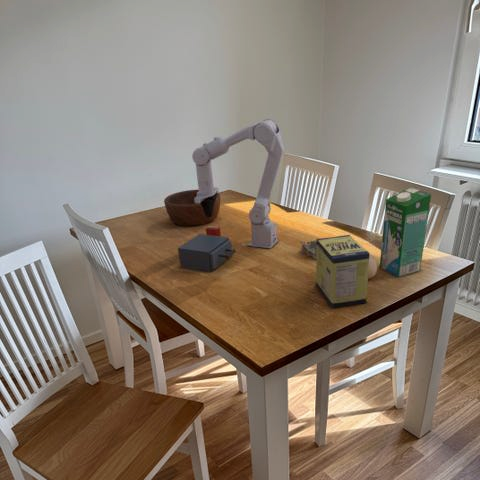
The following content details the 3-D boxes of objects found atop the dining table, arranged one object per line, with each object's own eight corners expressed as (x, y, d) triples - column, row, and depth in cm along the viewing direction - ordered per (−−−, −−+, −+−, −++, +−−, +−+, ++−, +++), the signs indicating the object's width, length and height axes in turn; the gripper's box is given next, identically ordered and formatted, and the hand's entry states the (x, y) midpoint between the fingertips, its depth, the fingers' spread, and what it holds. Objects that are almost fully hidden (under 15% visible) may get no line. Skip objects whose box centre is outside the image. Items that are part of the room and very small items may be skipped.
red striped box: (221, 244, 178) (219, 226, 174) (217, 247, 176) (215, 228, 172) (211, 243, 180) (209, 225, 176) (207, 246, 178) (205, 227, 174)
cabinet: (230, 256, 167) (228, 237, 164) (210, 272, 157) (208, 252, 153) (201, 252, 173) (199, 233, 169) (180, 267, 162) (177, 247, 158)
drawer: (241, 256, 164) (240, 241, 161) (223, 271, 155) (222, 255, 152) (205, 251, 171) (203, 237, 168) (186, 265, 161) (184, 250, 158)
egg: (369, 273, 147) (371, 250, 143) (379, 279, 143) (382, 256, 138) (355, 276, 146) (356, 253, 142) (364, 283, 141) (366, 260, 137)
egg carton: (298, 251, 167) (298, 241, 165) (315, 246, 169) (315, 236, 167) (315, 260, 158) (315, 249, 156) (332, 255, 161) (333, 244, 159)
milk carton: (379, 267, 150) (386, 191, 137) (401, 261, 153) (410, 186, 140) (397, 277, 143) (407, 198, 130) (420, 270, 146) (431, 193, 133)
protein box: (346, 280, 144) (349, 233, 136) (366, 303, 130) (370, 253, 122) (315, 285, 143) (315, 238, 135) (332, 308, 129) (333, 258, 121)
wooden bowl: (175, 211, 220) (172, 190, 214) (226, 210, 216) (224, 188, 211) (160, 229, 199) (156, 206, 193) (216, 228, 195) (214, 204, 190)
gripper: (206, 175, 176) (209, 209, 183) (185, 185, 165) (190, 221, 172) (221, 176, 173) (225, 211, 180) (202, 186, 162) (206, 223, 169)
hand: (209, 216), depth 176 cm, fingers closed
